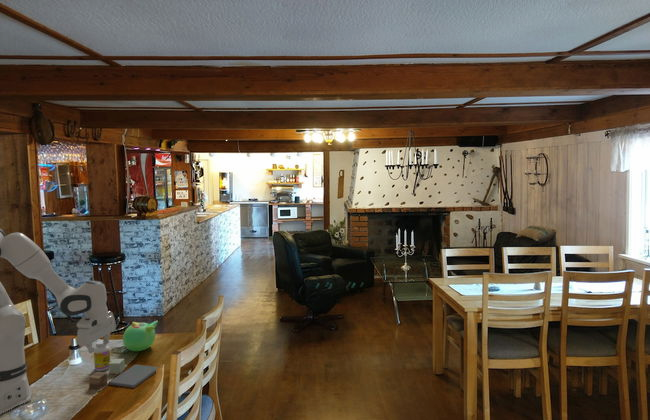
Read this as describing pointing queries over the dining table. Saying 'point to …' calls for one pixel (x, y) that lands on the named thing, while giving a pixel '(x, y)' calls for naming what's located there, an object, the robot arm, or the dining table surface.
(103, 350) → the supplement bottle
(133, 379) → the slate board
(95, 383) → the walnut cube
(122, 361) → the sage cube
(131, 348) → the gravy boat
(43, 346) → the dining table surface
